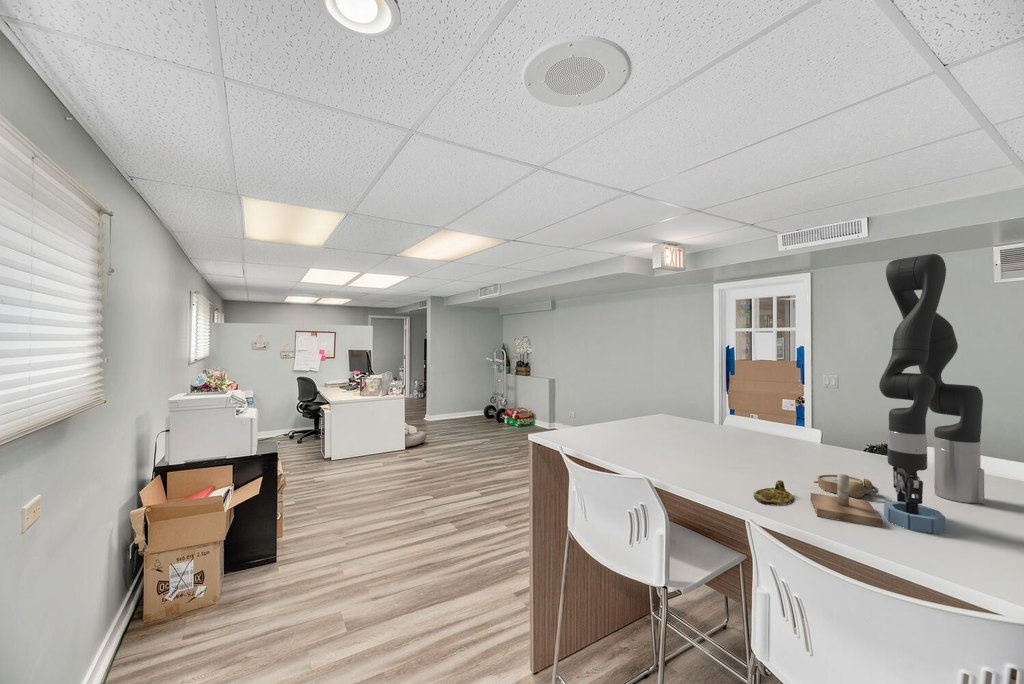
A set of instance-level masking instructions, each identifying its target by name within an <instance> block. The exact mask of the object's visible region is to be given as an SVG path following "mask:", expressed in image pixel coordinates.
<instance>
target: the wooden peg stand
mask: <svg viewBox="0 0 1024 684" xmlns="http://www.w3.org/2000/svg"><path fill="white" fill-rule="evenodd" d="M836 475H837V483H838V493H837V495H836V496H835V495H827V494H820V493H814V492H810V502H811V504H813V505H812V507H813V509H815V510H814V512H815V514H817V515H816V516H817V517H818V516H821V517H820V518H824V517H827V518H826V519H830V518H833V519H832V520H836V519H839V520H838V521H842V520H843V521H844V522H848V521H849V523H855V524H861V525H867V526H872V525H873V527H878V526H879V528H882V527H883V526H882V524H883V523H882V522H883V521H882V520H883V519H882V517H881V516H880V515H879V514H878V512H877V511H876V509H875V507H874V506H873V505H872V504H871V503H870V501H868V500H863V499H858V498H850V495H849V477H850V476H849V475H848V474H845V473H837V474H836ZM880 526H881V527H880Z"/></svg>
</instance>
